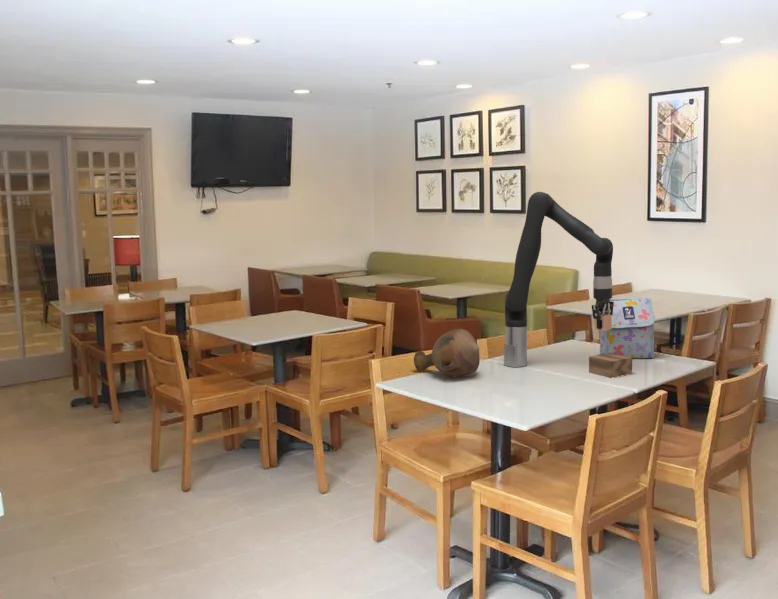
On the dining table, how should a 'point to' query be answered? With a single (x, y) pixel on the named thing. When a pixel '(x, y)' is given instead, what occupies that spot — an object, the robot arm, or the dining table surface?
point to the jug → (451, 354)
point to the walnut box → (610, 365)
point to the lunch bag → (630, 329)
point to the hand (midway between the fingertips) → (603, 327)
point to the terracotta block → (604, 322)
